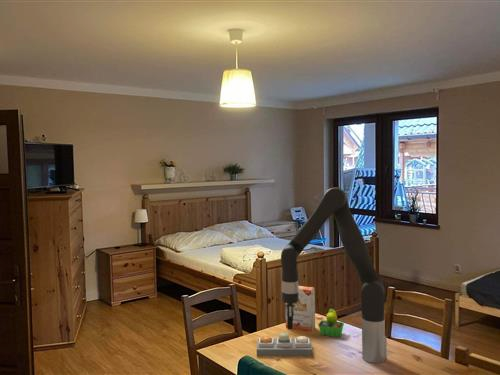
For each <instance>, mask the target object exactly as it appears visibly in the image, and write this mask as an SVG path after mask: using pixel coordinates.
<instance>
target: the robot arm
mask: <svg viewBox="0 0 500 375" xmlns="http://www.w3.org/2000/svg"><path fill="white" fill-rule="evenodd" d="M331 216H333V217H334V219H335V222H336V225H337V231H338V234H339V238H340V241H341V244H342V248H343V250H344V251H345V254H346V256H347V258H348V259H349V261H350V263H351V264H352V265H353V267H354V268H355V270H356V272H357V274H358V278H359V281H360V284H361V286H362V287H361V290H360V311H361V343H362V344H361V346H362V347H361V351H362V352H361V354H362V355H361V356H362V360H363V361H365V362H368V363H373V364H377V363H378V364H379V363H383V362H384V361H386V360H387V358H388V357H387V356H388V355H387V354H388V353H387V352H388V349H387V346H388V345H387V342H388V341H387V335H385V334H386V333H385V331H386V330H385V327H386V326H385V321H386V320H385V319H386V318H385V286H384V284H383V282H382V280H381V278H380V277H379V274H378V273H377V271H376V269H375V267H374V265H373V262H372V258H371V254H370V251H369V249H368V247H367V243H366V242H365V238H364V236H363V234H362V232H361V230H360V228H359V225H358V223H357V222H356V220H355V218H354V217H353V214H352V212H351V208H350V205H349V202H348V197H347V195H346V192H345V191H344V190H343V189H342V188H341V187H337V186H336V187H331V188H329V189H327V190H326V191H325V192H324V194H323V197H322V199H321V200H320V202H319V205H317V208H316V209H315V210H314V211H313V213H312V214H311V215H310V217H309V218H308V219H307V220H305V222H304V223H303V225H302V226H301V227H300V228H299V229H298V230H297V232H296V233H295V235H294V236H293V238H292V239H291V240H290V241H289V243H288V244H287V245H286V246H285V247H284V248H283V249H282V250H281V253H280V254H281V255H280V261H281V262H280V263H281V270H282V272H281V274H282V275H281V278H282V279H281V302H283V303H285V317H286V316H287V321H288V327H287V330H293V329H294V328H293V317H294V310H295V306H294V304H293V303H296V302H298V301H299V286H300V285H299V271H298V267H297V263H298V262H297V260H298V258H299V256H300V255H301V253H302V252H303V251H304V249H305V248H306V247H307V246H308V245H309V244H310V243H311V242H312V240H314V238H315V237H316V235H317V234H318V233H319V231H320V230H321V228H322V227H323V225H324V223H326V222H327V220H328V219H329V218H330V217H331ZM286 303H287V304H286Z"/></svg>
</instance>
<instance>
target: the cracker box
mask: <svg viewBox="0 0 500 375" xmlns="http://www.w3.org/2000/svg"><path fill="white" fill-rule="evenodd" d="M315 298H316V290H315V287H313V286H305V285H299V301H298V302H296V303H293V304H294V306H295V310H294V317H293V329H295V328H296V330H301V331H308V332H312V331H314V329H315V328H316V299H315ZM286 304H287V303H285V305H286ZM285 327H286V328H288V321H287V316H286V315H285Z"/></svg>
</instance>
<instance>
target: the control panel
mask: <svg viewBox="0 0 500 375" xmlns="http://www.w3.org/2000/svg"><path fill="white" fill-rule="evenodd" d="M256 343H257V344H256V357H313V346H312V340H311V338H309V337H307V343H297V337H294V338H292V337H289V340H287V341H281V340H279V337H277V338H274V337H271V343H261V337H259V338H257V342H256Z"/></svg>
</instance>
